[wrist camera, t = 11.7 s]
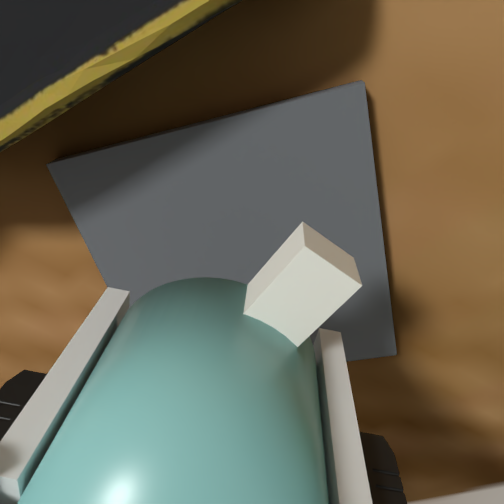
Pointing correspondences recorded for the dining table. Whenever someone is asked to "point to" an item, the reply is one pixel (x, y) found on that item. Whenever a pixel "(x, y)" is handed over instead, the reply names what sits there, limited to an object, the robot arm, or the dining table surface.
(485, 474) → the dining table surface
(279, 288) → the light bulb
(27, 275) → the dining table surface
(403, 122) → the dining table surface
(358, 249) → the coaster
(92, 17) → the mask
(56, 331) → the dining table surface
